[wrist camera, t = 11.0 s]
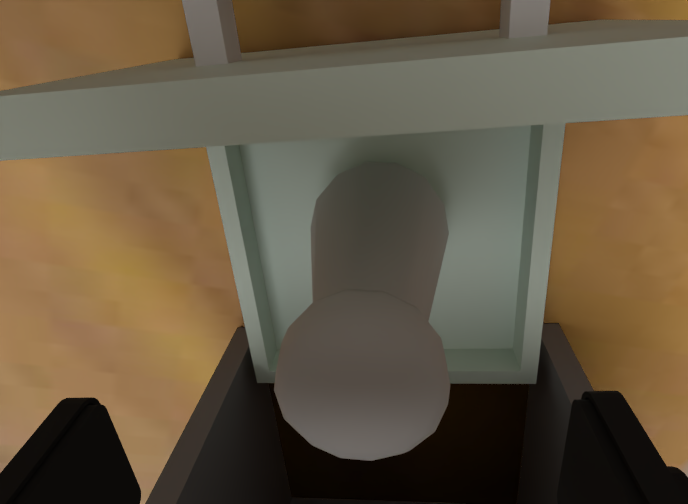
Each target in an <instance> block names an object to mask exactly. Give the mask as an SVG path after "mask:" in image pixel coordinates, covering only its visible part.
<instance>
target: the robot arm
mask: <svg viewBox="0 0 688 504" xmlns="http://www.w3.org/2000/svg"><path fill="white" fill-rule="evenodd" d="M140 500H141V490H140V487H139V484H138V482H137V480H136V477H135V475H134V473H133V470H132V468H131V465H130V463H129V461H128V458H127V456H126V454H125V451H124V449H123V447H122V444H121V442H120V440H119V437H118V435H117V432H116V430H115V428H114V425H113V423H112V421H111V418H110V416H109V414H108V411H107V409H106V407H105V406H104V405H101V404H100V403H99V401H98V400H97V399H96V398H66V399H63V400H62V401H61V402H60V403H59V404H58V405H57V406H56V407H55V408H54V409H53V411H52V412H51V413H50V414H49V415H48V417H47V418H46V419H45V420H44V422H43V423H42V424H41V425H40V426H39V428H38V429H37V430H36V431H35V432H34V434H33V435H32V436H31V437H30V438H29V440H28V441H27V442H26V443H25V444H24V446H23V447H22V448H21V449H20V450H19V452H18V453H17V454H16V455H15V456H14V458H13V459H12V460H11V461H10V462H9V464H8V465H7V466H6V467H5V468H4V470H3V471H2V472H1V473H0V504H140ZM557 502H558V504H688V477H687V476H686V475H685V473H683V472H682V471H681V470H680V469H678V468H676V467H669V466H666V464H665V463H664V461H663V460H662V458H661V456H660V455H659V453H658V452H657V450H656V448H655V447H654V445H653V443H652V442H651V440H650V439H649V437H648V435H647V434H646V432H645V430H644V429H643V427H642V426H641V424H640V422H639V421H638V419H637V418H636V416H635V414H634V413H633V411H632V409H631V408H630V406H629V405H628V403H627V401H626V400H625V398H624V397H623V395H622V394H621V393H620V392H618V391H585V392H584V393H583V394H582V397H581V399H579V400H573V402H572V407H571V413H570V419H569V424H568V430H567V436H566V442H565V448H564V454H563V460H562V466H561V472H560V478H559V484H558V490H557Z"/></svg>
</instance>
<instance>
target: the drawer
mask: <svg viewBox="0 0 688 504" xmlns="http://www.w3.org/2000/svg"><path fill="white" fill-rule="evenodd" d="M182 3H183V8H184V13H185V17H186V22H187V27H188V32H189V36H190V41H191V46H192V51H193V56H194V58H184V59H174V60H168V61H163V62H157V63H152V64H146V65H141V66H135V67H130V68H124V69H119V70H113V71H108V72H102V73H97V74H91V75H86V76H80V77H75V78H69V79H64V80H58V81H53V82H47V83H42V84H36V85H31V86H25V87H20V88H14V89H9V90H3V91H0V161H2V160H18V159H33V158H48V157H63V156H78V155H93V154H108V153H123V152H138V151H153V150H168V149H183V148H198V147H206V148H207V153H208V158H209V162H210V167H211V171H212V176H213V181H214V185H215V190H216V195H217V199H218V204H219V209H220V213H221V218H222V222H223V227H224V232H225V236H226V241H227V246H228V250H229V255H230V259H231V264H232V269H233V273H234V278H235V283H236V287H237V292H238V297H239V301H240V306H241V310H242V315H243V320H244V324H245V329H246V334H247V338H248V343H249V347H250V352H251V357H252V361H253V366H254V371H255V375H256V380H257V383H275V375H276V368H277V363H278V358H279V353H280V348H281V343H282V340H283V338H284V336H285V334H286V332H287V329H288V327H289V326H290V325H291V324H292V323H293V322H294V321H295V320H296V319H297V318H298V317H299V316H300V315H301V314H302V313H303V312H304V311H305V310H306V309H307V308H308V307H309V306H310V305H311V304H312V303H313V300H312V264H311V228H310V227H311V222H312V217H313V213H314V208H315V204H316V199H317V198H318V197H319V196H320V194H321V193H322V192H323V191H324V190H325V188H326V187H327V186H328V185H329V184H330V183H331V181H332V180H333V179H334V178H335V177H336V176H337V175H338V174H339V173H342V172H344V171H346V170H348V169H351V168H353V167H355V166H358V165H360V164H362V163H364V162H383V163H398V164H400V165H402V166H404V167H406V168H408V169H410V170H412V171H414V172H416V173H418V174H420V175H422V176H424V177H425V178H426V179H427V181H428V182H429V183H430V185H431V186H432V188H433V189H434V191H435V192H436V193H437V195H438V196H439V198H440V199H441V201H442V202H443V204H444V206H445V212H446V218H447V224H448V231H449V236H448V240H447V244H446V248H445V253H444V257H443V261H442V266H441V270H440V274H439V278H438V283H437V287H436V291H435V295H434V300H433V304H432V308H431V313H430V317H429V321H428V322H429V323H430V325H431V326H432V327H433V328H434V330H435V331H436V332H437V333H438V335H439V336H440V337H441V340H442V344H443V348H444V353H445V358H446V363H447V369H448V375H449V381H450V384H536V381H537V372H538V363H539V354H540V346H541V337H542V328H543V319H544V310H545V301H546V292H547V283H548V274H549V265H550V256H551V248H552V239H553V230H554V221H555V212H556V203H557V194H558V185H559V176H560V167H561V159H562V150H563V141H564V132H565V123H575V122H590V121H605V120H620V119H635V118H651V117H666V116H681V115H688V20H592V21H581V22H570V23H560V24H549V25H548V21H549V10H550V0H501V11H500V29H495V30H484V31H474V32H463V33H452V34H442V35H431V36H420V37H409V38H399V39H388V40H377V41H366V42H356V43H345V44H334V45H323V46H313V47H302V48H291V49H280V50H270V51H259V52H248V53H241V51H240V45H239V39H238V33H237V27H236V21H235V15H234V10H233V4H232V0H182Z"/></svg>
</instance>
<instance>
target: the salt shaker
mask: <svg viewBox="0 0 688 504" xmlns="http://www.w3.org/2000/svg"><path fill="white" fill-rule="evenodd" d="M310 228H311V264H312V300H313V303H312V304H311V305H310V306H309V307H308V308H307V309H306V310H305V311H304V312H303V313H302V314H301V315H300V316H299V317H298V318H297V319H296V320H295V321H294V322H293V323H292V324H291V325H290V326H289V327H288V329H287V332H286V334H285V336H284V338H283V340H282V343H281V348H280V353H279V358H278V363H277V368H276V375H275V385H274V392H275V395H276V398H277V401H278V403H279V406H280V409H281V412H282V415H283V418H284V419H285V420H286V421H287V422H288V423H289V424H290V425H291V426H292V427H293V428H294V429H295V430H296V431H297V432H298V433H299V434H300V435H301V436H303V437H304V438H305V439H306V440H307V441H308V442H309V443H310V444H311V445H312V446H315V447H317V448H319V449H321V450H323V451H326V452H328V453H330V454H332V455H335V456H337V457H339V458H345V459H357V460H368V461H373V460H377V459H382V458H386V457H390V456H395V455H399V454H403V453H405V452H408V451H410V450H412V449H413V448H414V447H416V446H417V445H418V444H419V443H421V442H422V441H423V440H425V439H426V438H427V437H429V436H430V435H431V434H433V433H434V432H435V431H436V429H437V427H438V425H439V423H440V420H441V418H442V416H443V414H444V412H445V410H446V408H447V406H448V401H449V393H450V381H449V375H448V369H447V363H446V358H445V353H444V348H443V344H442V340H441V337H440V336H439V335H438V333H437V332H436V331H435V330H434V328H433V327H432V326H431V325H430V323H429V322H428V321H429V317H430V313H431V308H432V304H433V300H434V295H435V291H436V287H437V283H438V278H439V274H440V270H441V266H442V261H443V257H444V253H445V248H446V244H447V240H448V236H449V231H448V224H447V218H446V212H445V206H444V204H443V202H442V201H441V199H440V198H439V196H438V195H437V193H436V192H435V191H434V189H433V188H432V186H431V185H430V183H429V182H428V181H427V179H426V178H425V177H424V176H422V175H420V174H418V173H416V172H414V171H412V170H410V169H408V168H406V167H404V166H402V165H400V164H398V163H383V162H364V163H362V164H360V165H358V166H355V167H353V168H351V169H348V170H346V171H344V172H342V173H339V174H338V175H337V176H336V177H335V178H334V179H333V180H332V181H331V183H330V184H329V185H328V186H327V187H326V188H325V190H324V191H323V192H322V193H321V194H320V196H319V197H318V198H317V199H316V204H315V208H314V213H313V217H312V222H311V227H310Z"/></svg>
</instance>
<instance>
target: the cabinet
mask: <svg viewBox="0 0 688 504" xmlns="http://www.w3.org/2000/svg"><path fill="white" fill-rule="evenodd" d="M585 391H594V390H593V388H592V386H591V384H590V383H589V381H588V379H587V377H586V375H585V373H584V371H583V369H582V367H581V365H580V363H579V361H578V360H577V358H576V356H575V354H574V352H573V350H572V348H571V346H570V344H569V342H568V340H567V338H566V337H565V335H564V333H563V331H562V329H561V327H560V325H559V323H548V324H543V328H542V337H541V346H540V354H539V363H538V372H537V381H536V384H529V390H528V399H527V409H526V419H525V428H524V438H523V447H522V457H521V467H520V476H519V486H518V496H517V504H558V502H557V490H558V484H559V478H560V472H561V466H562V460H563V454H564V448H565V442H566V436H567V430H568V424H569V419H570V413H571V407H572V402H573V400H579V399H581V397H582V394H583V393H584V392H585ZM145 504H464V503H436V502H408V501H381V500H353V499H325V498H297V497H292V496H291V491H290V486H289V481H288V476H287V471H286V467H285V462H284V457H283V452H282V447H281V442H280V437H279V432H278V427H277V422H276V417H275V412H274V407H273V402H272V397H271V392H270V388H269V383H257V380H256V375H255V371H254V366H253V361H252V357H251V352H250V347H249V343H248V338H247V334H246V329H245V327H240V328H237V330H236V332H235V333H234V335H233V337H232V339H231V341H230V343H229V345H228V347H227V349H226V351H225V353H224V354H223V356H222V358H221V360H220V362H219V364H218V366H217V368H216V370H215V372H214V374H213V375H212V377H211V379H210V381H209V383H208V385H207V387H206V389H205V391H204V393H203V395H202V396H201V398H200V400H199V402H198V404H197V406H196V408H195V410H194V412H193V414H192V416H191V417H190V419H189V421H188V423H187V425H186V427H185V429H184V431H183V433H182V435H181V437H180V438H179V440H178V442H177V444H176V446H175V448H174V450H173V452H172V454H171V456H170V458H169V459H168V461H167V463H166V465H165V467H164V469H163V471H162V473H161V475H160V477H159V479H158V480H157V482H156V484H155V486H154V488H153V490H152V492H151V494H150V496H149V498H148V500H147V501H146V503H145Z"/></svg>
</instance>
